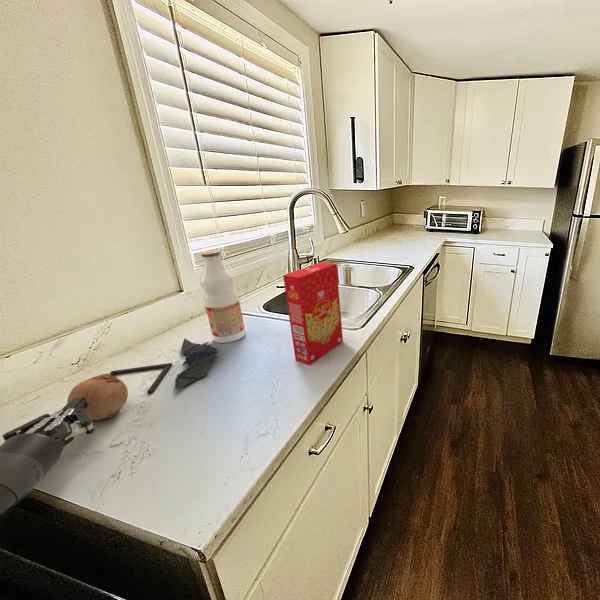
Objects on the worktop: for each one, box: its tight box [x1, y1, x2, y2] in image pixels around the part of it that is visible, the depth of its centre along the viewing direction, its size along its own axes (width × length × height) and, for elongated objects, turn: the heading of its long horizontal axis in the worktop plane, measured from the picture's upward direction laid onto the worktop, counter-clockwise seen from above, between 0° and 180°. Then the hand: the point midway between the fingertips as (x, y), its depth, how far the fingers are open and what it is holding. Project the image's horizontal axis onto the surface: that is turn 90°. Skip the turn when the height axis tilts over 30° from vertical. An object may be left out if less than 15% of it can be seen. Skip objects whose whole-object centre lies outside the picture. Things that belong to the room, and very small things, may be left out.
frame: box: [108, 362, 173, 395], centre depth 82 cm, size 14×13×1 cm
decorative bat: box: [174, 338, 219, 390], centre depth 91 cm, size 30×4×10 cm
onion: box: [66, 373, 129, 422], centre depth 70 cm, size 10×9×10 cm
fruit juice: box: [199, 249, 246, 344], centre depth 100 cm, size 9×9×28 cm
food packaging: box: [282, 261, 344, 366], centre depth 92 cm, size 15×5×25 cm, turn 152°
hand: (81, 401), depth 65 cm, fingers closed
